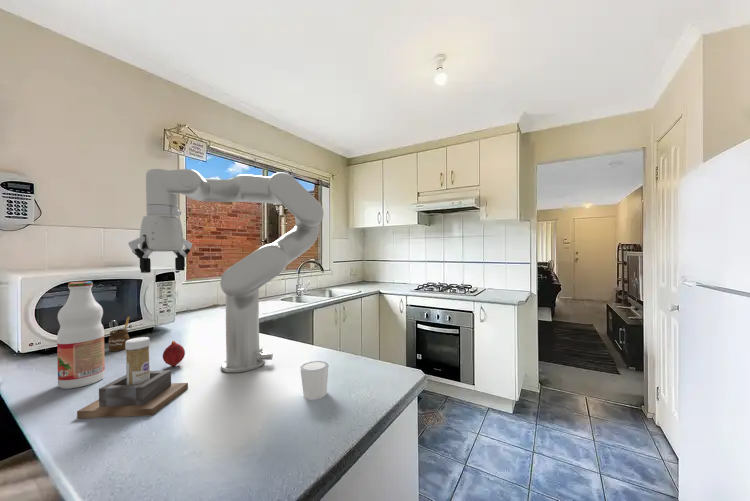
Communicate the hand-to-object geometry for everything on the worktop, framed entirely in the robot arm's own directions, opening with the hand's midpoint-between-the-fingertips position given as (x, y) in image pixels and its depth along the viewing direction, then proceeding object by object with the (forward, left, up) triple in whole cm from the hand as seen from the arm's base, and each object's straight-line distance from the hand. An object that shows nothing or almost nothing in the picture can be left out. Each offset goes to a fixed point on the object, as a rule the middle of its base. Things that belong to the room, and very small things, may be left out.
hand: (163, 271), depth 88 cm
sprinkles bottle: (-4, +16, -29) cm, 33 cm away
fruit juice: (+21, +3, -31) cm, 37 cm away
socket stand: (-4, +16, -30) cm, 34 cm away
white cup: (-46, +15, -31) cm, 57 cm away
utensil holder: (+35, -27, -31) cm, 54 cm away
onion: (+2, -7, -31) cm, 31 cm away
